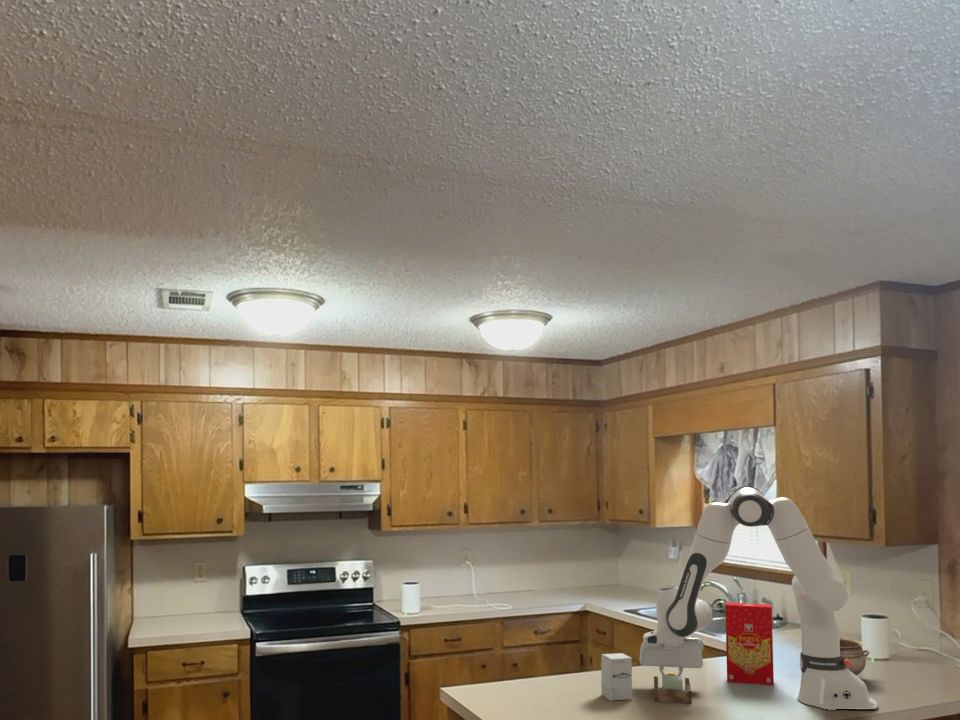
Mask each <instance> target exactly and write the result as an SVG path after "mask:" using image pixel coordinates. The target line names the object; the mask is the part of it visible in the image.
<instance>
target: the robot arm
mask: <svg viewBox="0 0 960 720" xmlns="http://www.w3.org/2000/svg"><path fill="white" fill-rule="evenodd" d="M738 525H742V526H745V527H749V528H750V527H751V528H752V527H758V526H759V527H763V526H767V527H768V529H769V532H770V533H771V534H772V537H773V540H774V541H775V544H776V545H777V548H778V549H779V551H780V554H781V556H782V558H783V561H784V563H785V564H786V565H787V566H788V567H789V568H790V571H792V573H793V577H792V579H791V588H792V591H793V594H794V597H795V602H796V608H797V613H798V617H799V624H800V625H799V626H800V635H801V636H800V637H801V640H800V641H801V651H800V657H799V666H800V671H801V677H800V678H801V679H800V686H799V691H798V695H797V700H798V701H799V702H801V703H803V704H806V705H808V706H812V707H817V708H820V709H822V708H823V709H822V710H826V709H828V710H827V711H837V710H836V709H847V708H875V707H876V706H877V707H878V703H877V701H876V700H875V699H873V698H872V697H871V696H870V694H869V690H868V687H867V685H866V683H865V682H864V681H863V680H862V679H861V678H859V676H857V675H855V674H854V673H852V672H851V671H850V670H849V669H847V667H850V665H851V664H852V663H851V661H850V660H849V659H846V658H845V657H843V656H842V655H840V639H839V637H840V628H839V626H838V624H837V620H836V617H835V614H834V612H838V611H840V610H842V609H843V608H844V607H845V606H846V605H847V602H848V600H849V599H848V598H849V593H848V590H847V588H846V586H845V585H844V584H843V582H842V581H841V580H840V578H839V577H838V574H836V571H835V570H834V569H833V567H832V565H831V564H830V563H829V561H828V559H827V558H826V557H825V555H824V554H823V552H822V550H821V549H820V547H819V546H818V543H817V541H816V539H815V537H814V535H813V532H812V531H811V529H810V527H809V525H808V522H807V521H806V519H805V517H804V516H803V513H802V511H801V510H800V509H799V508H798V506H797V505H796V504H795V502H794V501H793V500H792V499H790V498H788V497H778V498H775V499H768V498H766V497H765V496H764V494H763V493H762V491H760V490H759V489H758V488H756V487H753V486H749V485H748V486H747V485H746V486H745V485H744V486H742V487H739V488H738V489H736V490H734V492H733V493H731V495H730V496H729V497H727V499H725V502H724V503H723V502H719V501H718V502H717V501H715V502H710V503H708V504H706V506H705V507H704V510H703V511H702V514H701V516H700V519H699V521H698V523H697V528H696V531H695V532H696V533H695V536H694V538H693V539H694V541H693V544H692V548H691V551H690V554H689V557H688V559H687V562H686V565H685V568H684V570H683V573H682V577H681V580H680V583H679V586H678V585H677V586H668V587H667V586H666V587H663V588H661V589H659V590H658V592H657V595H656V596H657V597H656V608H655V609H656V610H655V611H656V617H657V623H656V629H655V630H652V631H649V632H645V633H644V634H643V636H642V640H643V642H642V643H641V645H640V651H639V664H640V665H641V666H642V667H644V666H645V667H659V672H660V674H661V676H662V675H667V673H665V672H664V670H665V668H678V669H677V670H678V673H677V674H675V676H682V673H683V672H684V668H685V669H686V668H687V669H702V668H703V666H704V661H703V654H702V653H703V652H704V642H703V641H702V640H701V639H699V638H697V637H694V638H693V637H689V636H690V635H692V634H694V633H696V632H699V631H701V630H704V629H705V628H708V627H709V626H710V625H712V622H713V619H714V612H713V609H712V607H711V605H710V604H709V603H708V602H707V601H705V600H704V599H701V598H699V595H700V593H701V589H702V585H703V582H704V581H705V580H706V578H707V576H708V575H709V574H710V573H711V572H712V571H713V570H714V569H716V568H717V567H718V566H720V565H721V564H723V562H725V560H726V558H727V556H728V553H729V551H730V548H731V543H732V540H733V539H732V538H733V535H734V531H735V529H736V527H737V526H738ZM869 697H870V698H869Z"/></svg>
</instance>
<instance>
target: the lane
mask: <svg viewBox="0 0 960 720" xmlns="http://www.w3.org/2000/svg"><path fill="white" fill-rule="evenodd" d="M653 686H654V687H653V693H654V699H653V700H654V702H659V703H660V702H661V703H679V704H692V687H691V682H690V678H689V677H685V678H684V689H683V690H674V689H662V688H659V677H658V676H653Z"/></svg>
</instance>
